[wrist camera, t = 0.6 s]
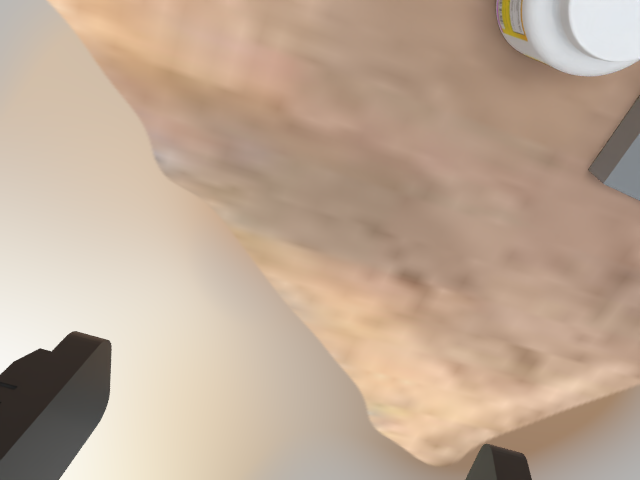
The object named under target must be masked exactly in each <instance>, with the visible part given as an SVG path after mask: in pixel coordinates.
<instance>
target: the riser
mask: <svg viewBox="0 0 640 480" xmlns="http://www.w3.org/2000/svg"><path fill="white" fill-rule="evenodd" d="M588 170H589V171H590V172H591V173H592V174H593V175H594V176H596V177H597V178H598V179H599V180H600V181H601V182H602V183H603V184H605V185H607V186H609V187H611V188H614V189H616V190H618V191H620V192H622V193H624V194H626V195H629V196H631V197H633V198H635V199H637V200H639V201H640V96H639V97H638V99H637V100H636V102H635V103H634V105H633V106H632V107H631V109H630V110H629V112H628V113H627V115H626V116H625V118H624V119H623V120H622V122H621V123H620V125H619V126H618V128H617V129H616V131H615V132H614V133H613V135H612V136H611V138H610V139H609V141H608V142H607V143H606V145H605V146H604V148H603V149H602V151H601V152H600V154H599V155H598V156H597V158H596V159H595V161H594V162H593V164H592V165H591V167H590V168H589V169H588Z"/></svg>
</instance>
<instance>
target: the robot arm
mask: <svg viewBox="0 0 640 480" xmlns="http://www.w3.org/2000/svg"><path fill="white" fill-rule="evenodd" d="M110 373H111V343H110V341H109V340H106V339H102V338H99V337H95V336H91V335H88V334H84V333H80V332H77V331H74V332H71V333H70V334H68V335H67V336H66V337H65V338H64V339H63V340H62V341H61V342H60V343H59V344H58V346H57V347H56V348H55V349H54V350H53V351H52V352H51V351H48V350H44V349H38V350H36V351H34V352H32V353H30V354H28V355H26V356H24V357H22V358H20V359H18V360H16V361H14V362H13V363H12V364H11V365H10V366H9V367H8V368H7V369H6V370H5V371H4V372H3V373H1V375H0V480H59V479H60V477H61V476H62V475H63V473H64V472H65V470H66V469H67V467H68V466H69V465H70V463H71V462H72V460H73V459H74V457H75V456H76V455H77V453H78V452H79V450H80V449H81V448H82V446H83V445H84V443H85V442H86V440H87V439H88V438H89V436H90V435H91V433H92V432H93V431H94V429H95V428H96V426H97V425H98V423H99V422H100V420H101V418H102V416H103V414H104V412H105V409H106V407H107V403H108V400H109V395H110ZM466 480H532V479H531V475H530V471H529V467H528V463H527V460H526V457H525V456H524V454H522V453H519V452H516V451H512V450H508V449H505V448H501V447H497V446H494V445H490V444H484V445H483V446H482V448H481V450H480V451H479V453H478V455H477V458H476V459H475V461H474V464H473V465H472V467H471V469H470V471H469V474H468V475H467V478H466Z"/></svg>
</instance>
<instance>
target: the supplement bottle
mask: <svg viewBox="0 0 640 480" xmlns="http://www.w3.org/2000/svg"><path fill="white" fill-rule="evenodd" d="M496 15H497V21H498V25H499V28H500V30H501V32H502V34H503V36H504V38H505V39H506V40H507V42H508V43H509V44H510V45H511V46H512V47H513V48H514V49H516V50H517V51H519V52H520V53H522V54H524V55H526V56H528V57H530V58H532V59H535V60H537V61H539V62H542V63H544V64H546V65H548V66H551V67H553V68H555V69H557V70H559V71H562V72H565V73H568V74H572V75H577V76H600V75H606V74H610V73H614V72H616V71H619V70H622V69H624V68H626V67H628V66H630V65H632V64H634V63H635V62H637V61H639V60H640V0H497V2H496Z"/></svg>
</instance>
